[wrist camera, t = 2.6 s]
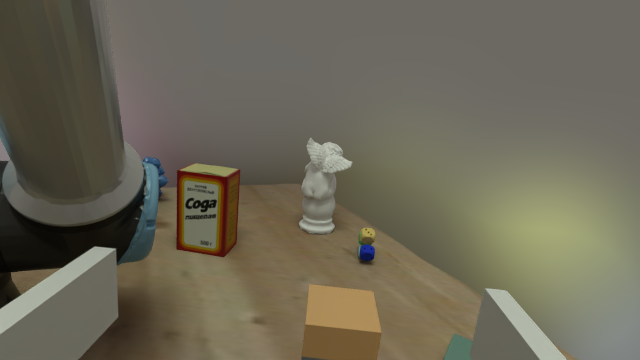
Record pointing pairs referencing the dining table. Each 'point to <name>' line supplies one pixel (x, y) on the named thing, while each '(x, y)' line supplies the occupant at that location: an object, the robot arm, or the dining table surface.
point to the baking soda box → (207, 209)
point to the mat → (458, 349)
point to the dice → (366, 244)
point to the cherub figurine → (321, 186)
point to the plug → (341, 325)
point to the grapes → (162, 179)
